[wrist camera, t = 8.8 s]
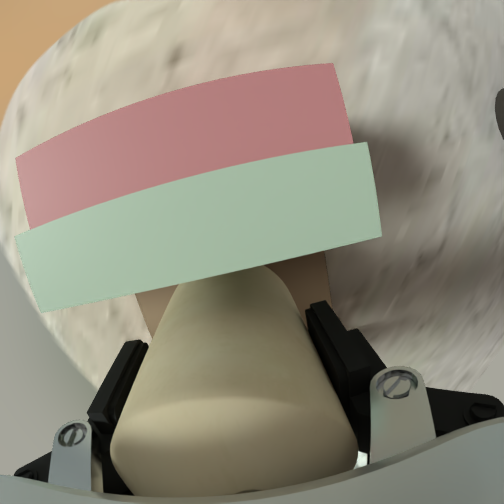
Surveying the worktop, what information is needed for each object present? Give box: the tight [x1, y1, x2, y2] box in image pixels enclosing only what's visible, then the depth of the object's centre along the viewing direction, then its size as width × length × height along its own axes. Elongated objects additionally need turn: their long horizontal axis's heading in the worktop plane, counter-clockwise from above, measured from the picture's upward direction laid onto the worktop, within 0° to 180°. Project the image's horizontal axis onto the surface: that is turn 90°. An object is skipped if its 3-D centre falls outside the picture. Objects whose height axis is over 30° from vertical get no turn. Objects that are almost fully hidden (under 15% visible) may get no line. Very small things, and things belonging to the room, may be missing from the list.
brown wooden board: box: [135, 251, 332, 339], centre depth 16 cm, size 13×10×2 cm
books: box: [14, 63, 382, 313], centre depth 10 cm, size 4×9×8 cm, turn 103°
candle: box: [110, 265, 359, 497], centre depth 9 cm, size 6×6×10 cm
